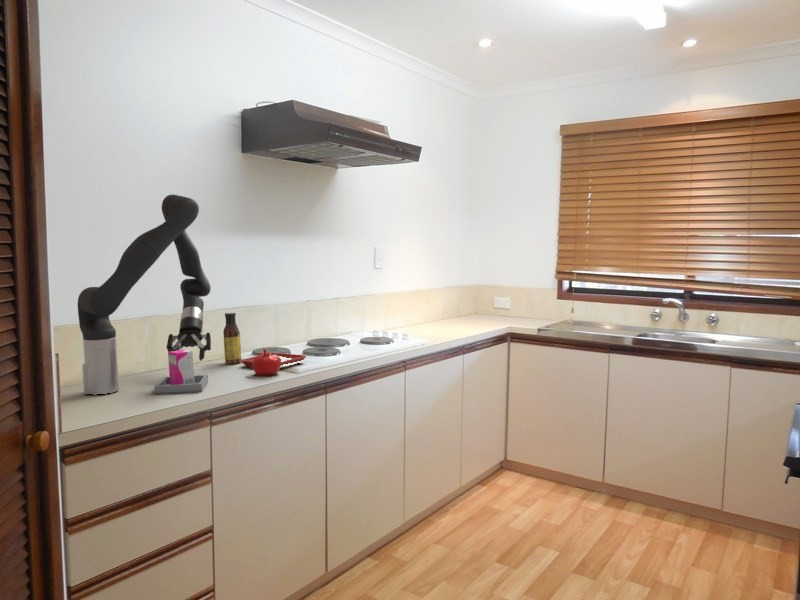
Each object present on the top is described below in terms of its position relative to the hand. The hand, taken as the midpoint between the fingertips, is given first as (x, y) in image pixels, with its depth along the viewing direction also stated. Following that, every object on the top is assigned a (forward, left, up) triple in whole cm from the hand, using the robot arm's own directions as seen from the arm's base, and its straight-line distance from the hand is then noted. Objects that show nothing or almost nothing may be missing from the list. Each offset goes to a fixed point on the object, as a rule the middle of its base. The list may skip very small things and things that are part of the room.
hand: (187, 359), depth 201 cm
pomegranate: (+26, +4, -8) cm, 27 cm away
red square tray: (+28, +21, -8) cm, 36 cm away
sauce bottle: (+12, +29, -7) cm, 33 cm away
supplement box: (0, -10, -7) cm, 12 cm away
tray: (0, -11, -7) cm, 13 cm away
